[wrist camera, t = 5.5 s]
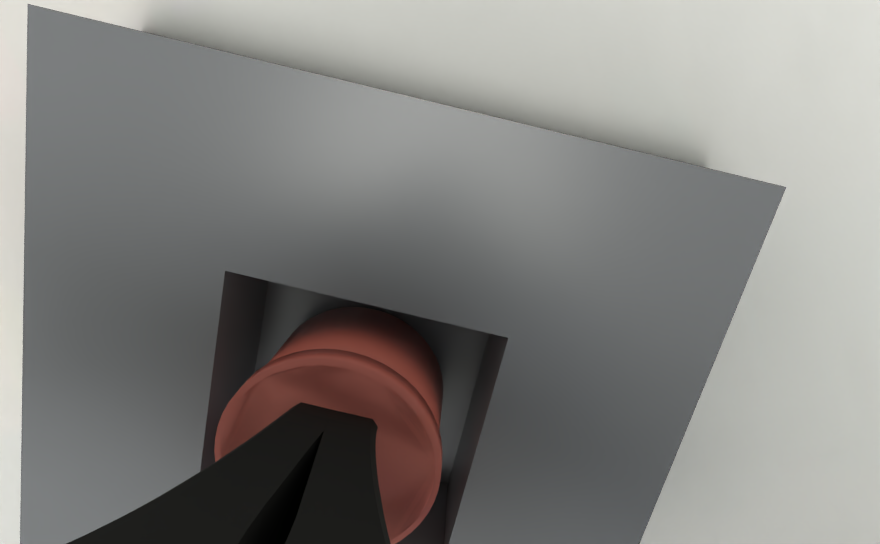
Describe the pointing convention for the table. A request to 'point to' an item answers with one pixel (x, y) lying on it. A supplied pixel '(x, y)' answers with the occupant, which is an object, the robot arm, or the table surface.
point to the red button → (357, 400)
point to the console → (356, 281)
